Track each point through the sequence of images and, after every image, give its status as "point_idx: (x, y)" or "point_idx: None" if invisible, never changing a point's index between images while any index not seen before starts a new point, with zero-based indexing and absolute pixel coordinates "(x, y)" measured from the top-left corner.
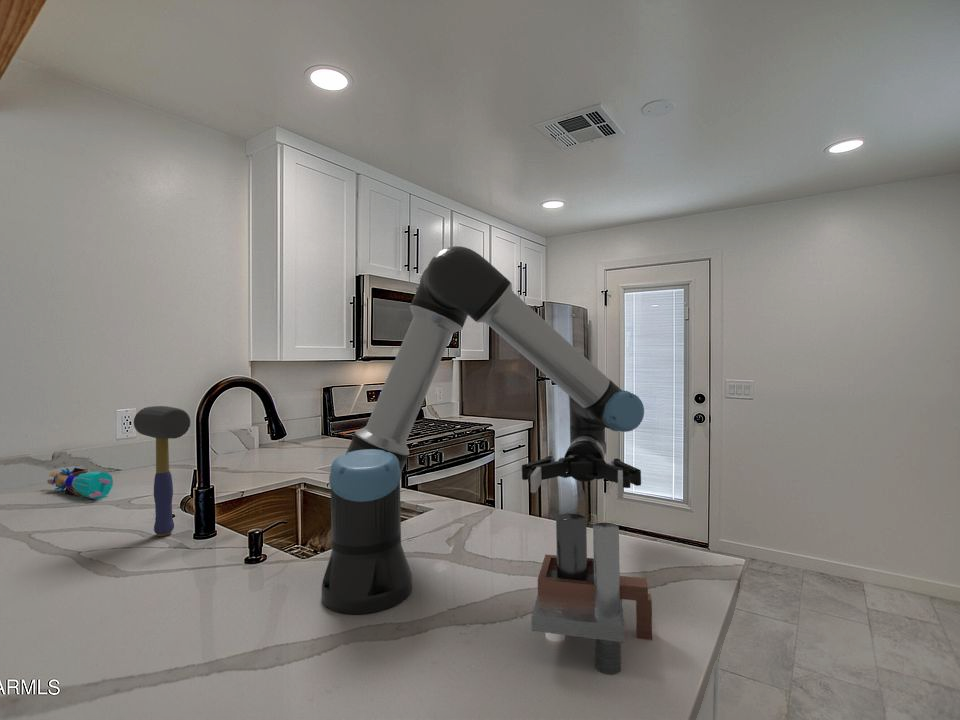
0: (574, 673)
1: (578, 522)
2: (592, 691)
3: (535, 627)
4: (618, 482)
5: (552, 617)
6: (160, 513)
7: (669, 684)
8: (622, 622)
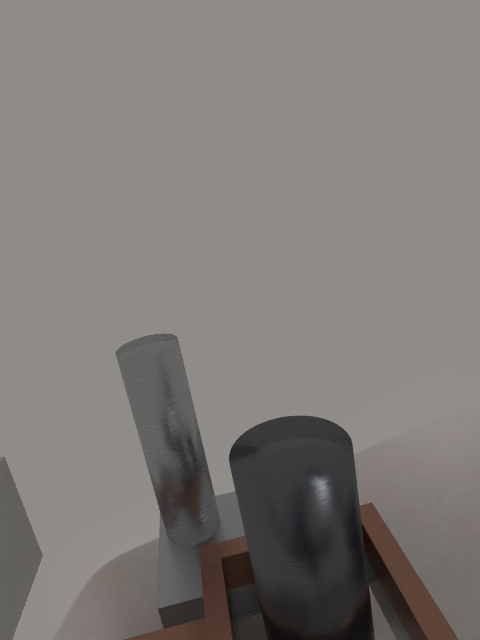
0: None
1: (250, 433)
2: None
3: None
4: (6, 471)
5: None
6: None
7: (104, 612)
8: (162, 519)
